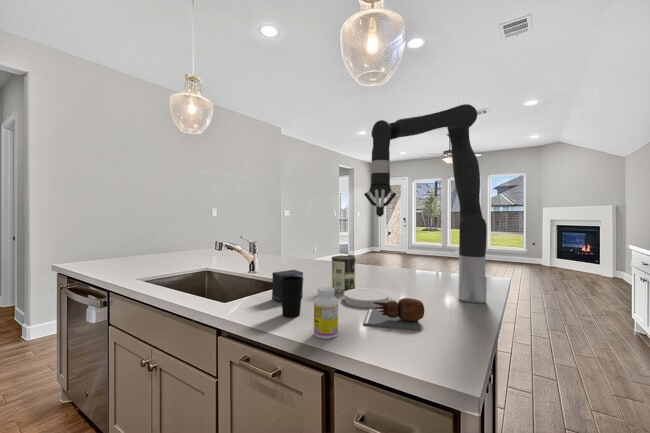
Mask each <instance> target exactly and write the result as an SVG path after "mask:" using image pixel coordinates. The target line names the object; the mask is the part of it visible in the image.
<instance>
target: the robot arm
mask: <svg viewBox="0 0 650 433" xmlns="http://www.w3.org/2000/svg"><path fill="white" fill-rule="evenodd" d="M477 111H478V110H477V109H476V108H475V107H474V106H473V105H471V104H468V103H466V104H465V103H464V104H460V105H456V106H454V107H453V106H452V107H449V108H448V109H445V110H444V109H443V110H442V111H436V112H433V113H428V114H423V115H418V116H410V117H404V118H400V119H397V120H395V121H394V122H388V121H387V120H385V119H380V120H378V121H375V123H374V124H373V127H372V129H371V138H372V149H371V164H370V186H369V189H368V191H367V192H365V193H364V194H363V195H364V197H365V198H366V199H367V200H368V202H369V204H370V205H371V206H375V208H376V210H375V213H376V216H377V217H383V216H384V212H385V207H387V206H389V205H390V203H391V202H392V201H393V200H394V199H395V197H396V196H397V193H396V192H394V191H393V190H392V188H391V163H390V156H391V155H390V145H391V140H395V139H399V138H404V137H412V136H417V135H421V134H422V135H423V134H425V133H427V132H431V131H435V130H437V129H443V128H447V132H448V136H449V141H450V147H451V159H452V168H453V170H452V172H453V179H454V186H455V190H456V194H457V198H458V202H459V233H458V234H459V237H458V238H459V242H458V243H459V244H458V245H459V246H458V248H459V249H458V254H459V255H458V299H459V300H460V301H463V302H466V303H472V304H481V303H483V304H484V303H487V288H488V287H487V286H488V285H487V279H488V278H487V277H486V257H487V256H486V255H487V254H486V252H487V251H486V250H487V233H488V231H487V222H486V219H485V218H484V217H483V213H482V208H481V200H480V196H481V195H480V194H481V175H480V174H481V173H480V166H479V160H478V157H477V155H476V153H475V152H474V150H473V148H472V145H471V142H470V141H471V140H470V127H472V126H473V125H474V124H475V122H476V121H477V118H478V112H477ZM371 196H373V197H374V199H375V202H374V200H373V199H372V197H371ZM388 196H389V198H388V199H387V200H386V201H385V199H386V198H387V197H388Z"/></svg>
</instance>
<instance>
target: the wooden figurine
mask: <svg viewBox="0 0 650 433" xmlns="http://www.w3.org/2000/svg"><path fill="white" fill-rule="evenodd" d="M374 304H378V305H381V307H375V310H381V311H379V312H384V313H382V315H386V316H388V317H390V318H396V317H398V316H399V318H400V319H401V320H403V321H417V320H418V321H420V320H422V319H423V318H424V315H425V305H424V303H423V302H422V301H421V300H420V299H416V298H409V297H404V298H401V299H399V300H398V302H397V301H396V302H395V301H389V302H388V303H378V302H374Z"/></svg>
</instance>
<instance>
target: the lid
mask: <svg viewBox="0 0 650 433" xmlns="http://www.w3.org/2000/svg"><path fill="white" fill-rule="evenodd" d="M343 298H344V302H345V304H348V305H350V306H353V307H359V308H365V309H366V308H367V309H373V308H374V309H375V308H376V307H382V306H381V305H378V304H374V302H378V303H388V302H389V301H395V302H397V299H396V297H395V296H393V295H390V294H389V293H388V292H386V291H383V290H381V289H374V288H367V287H366V288H363V287H362V288H360V287H359V288H355V289H350V290H347V291H345V292H343Z"/></svg>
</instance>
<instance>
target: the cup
mask: <svg viewBox="0 0 650 433" xmlns="http://www.w3.org/2000/svg"><path fill="white" fill-rule="evenodd" d="M303 284H304V277H303V278H302V277H299V276H285V277H281V278H280V289H281V300H282V303H281V308H282V310H281V311H282V316H283V317H284V318H291V319H292V318H293V319H294V318H298V317H299V316H300V315H301V308H302V307H301V306H302V298H303V295H302V287H303V286H304V285H303ZM303 288H304V287H303ZM301 297H302V298H301Z"/></svg>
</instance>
